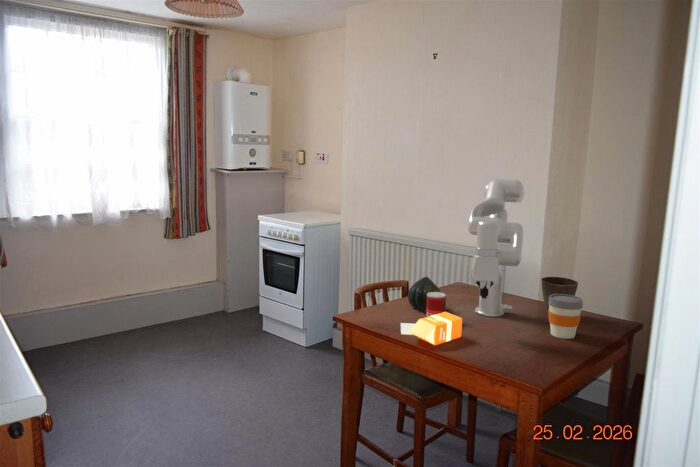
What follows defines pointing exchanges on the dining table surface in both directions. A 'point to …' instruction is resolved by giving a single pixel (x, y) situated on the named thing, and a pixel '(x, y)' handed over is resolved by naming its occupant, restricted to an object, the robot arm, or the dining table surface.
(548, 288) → the plant pot
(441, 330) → the orange juice
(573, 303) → the reusable coffee cup
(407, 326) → the mat
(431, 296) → the canned food
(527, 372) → the dining table surface
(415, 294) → the squash
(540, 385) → the dining table surface
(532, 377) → the dining table surface
